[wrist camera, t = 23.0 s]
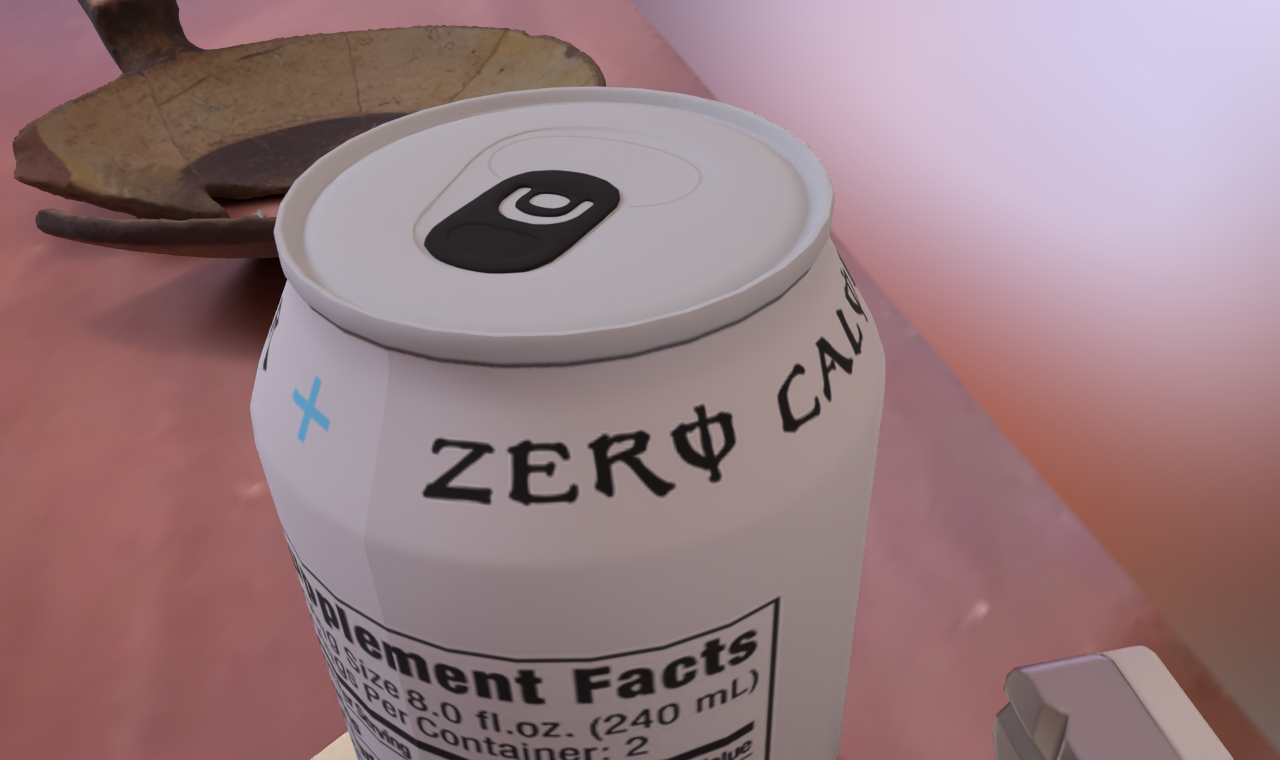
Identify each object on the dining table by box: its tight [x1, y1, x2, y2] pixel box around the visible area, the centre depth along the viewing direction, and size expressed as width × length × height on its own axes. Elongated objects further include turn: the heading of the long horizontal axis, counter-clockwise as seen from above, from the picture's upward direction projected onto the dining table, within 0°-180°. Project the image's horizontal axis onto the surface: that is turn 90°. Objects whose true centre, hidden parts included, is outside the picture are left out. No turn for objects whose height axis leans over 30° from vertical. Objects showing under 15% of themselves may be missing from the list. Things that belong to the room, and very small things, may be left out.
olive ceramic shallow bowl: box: [13, 0, 606, 258], centre depth 43 cm, size 22×30×8 cm
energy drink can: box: [250, 86, 886, 760], centre depth 14 cm, size 6×6×15 cm
